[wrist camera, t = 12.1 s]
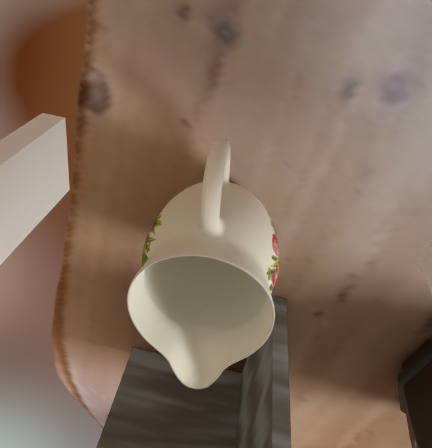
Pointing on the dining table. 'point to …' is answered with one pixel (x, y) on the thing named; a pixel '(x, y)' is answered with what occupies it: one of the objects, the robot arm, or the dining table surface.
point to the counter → (205, 402)
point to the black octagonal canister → (418, 395)
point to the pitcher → (207, 276)
